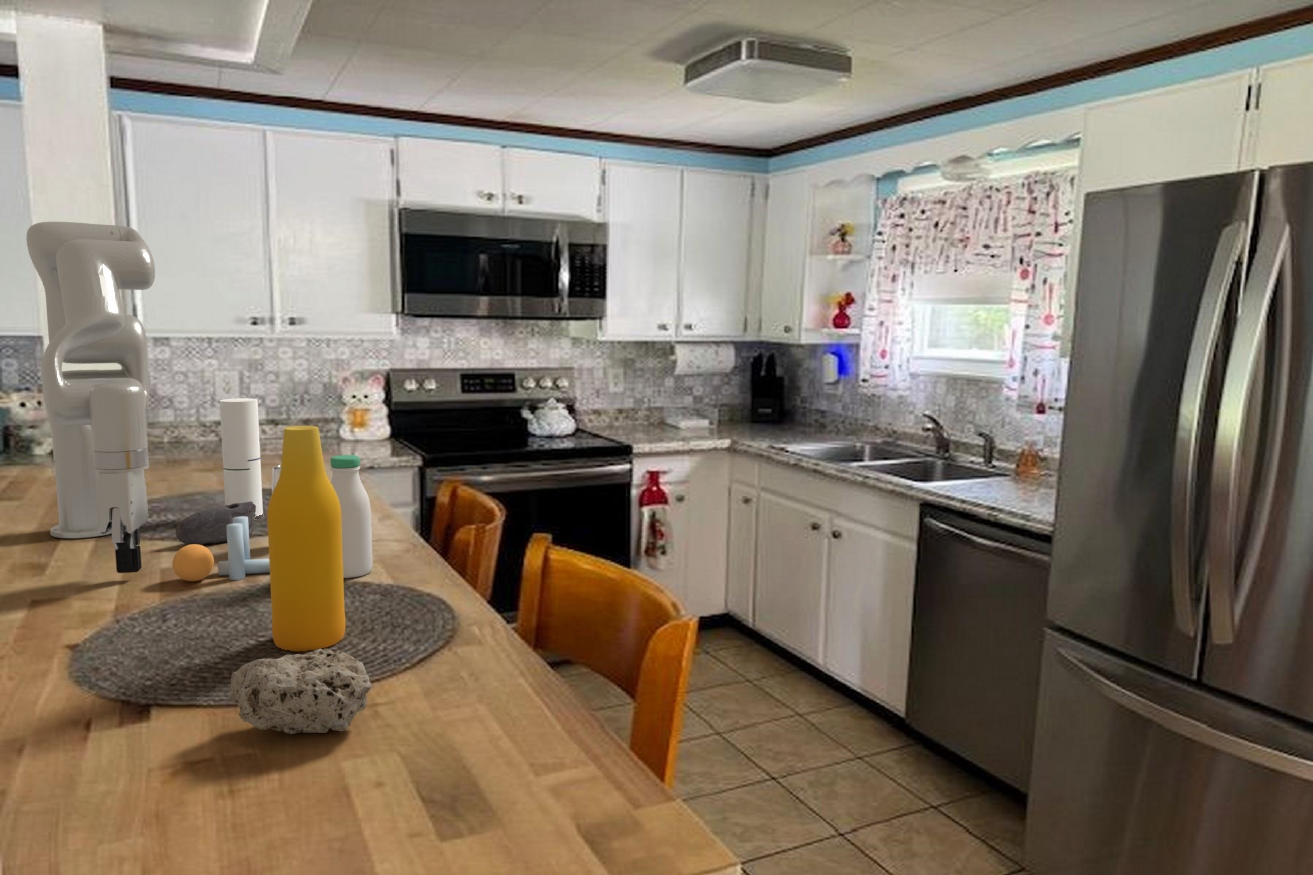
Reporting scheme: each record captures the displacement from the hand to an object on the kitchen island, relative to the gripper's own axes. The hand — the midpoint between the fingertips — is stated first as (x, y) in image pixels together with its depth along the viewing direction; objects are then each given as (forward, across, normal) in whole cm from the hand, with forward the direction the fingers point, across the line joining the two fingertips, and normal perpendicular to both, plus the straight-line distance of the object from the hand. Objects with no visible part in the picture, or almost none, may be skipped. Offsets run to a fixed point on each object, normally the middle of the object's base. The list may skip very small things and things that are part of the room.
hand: (129, 570), depth 144 cm
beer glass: (+2, -17, +23) cm, 29 cm away
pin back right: (+2, -2, +16) cm, 17 cm away
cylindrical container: (+2, -43, +10) cm, 44 cm away
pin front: (0, 0, +13) cm, 13 cm away
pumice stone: (+2, +60, +33) cm, 68 cm away
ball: (-2, +2, +10) cm, 11 cm away
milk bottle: (+2, +3, +34) cm, 34 cm away
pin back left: (+2, +2, +16) cm, 17 cm away
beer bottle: (+2, +34, +31) cm, 46 cm away
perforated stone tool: (+2, -23, +9) cm, 25 cm away
